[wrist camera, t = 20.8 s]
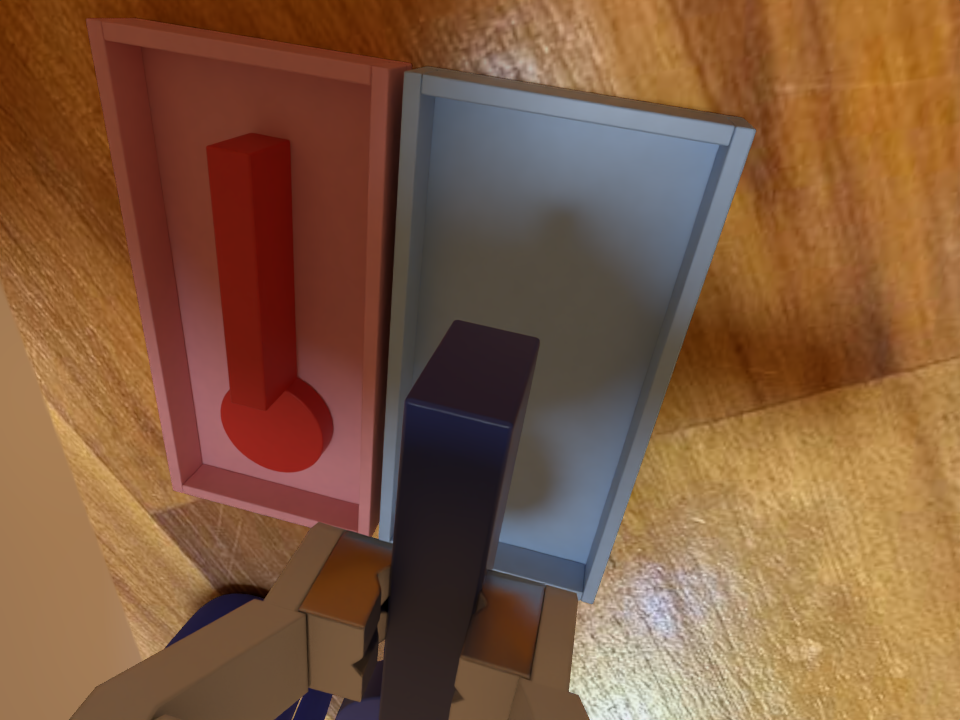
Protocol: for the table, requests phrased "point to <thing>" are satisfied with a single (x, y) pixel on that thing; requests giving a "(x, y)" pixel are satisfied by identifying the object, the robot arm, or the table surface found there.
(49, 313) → the table surface
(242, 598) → the mug
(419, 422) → the blue spoon
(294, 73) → the pink tray
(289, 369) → the red spoon
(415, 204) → the blue tray
